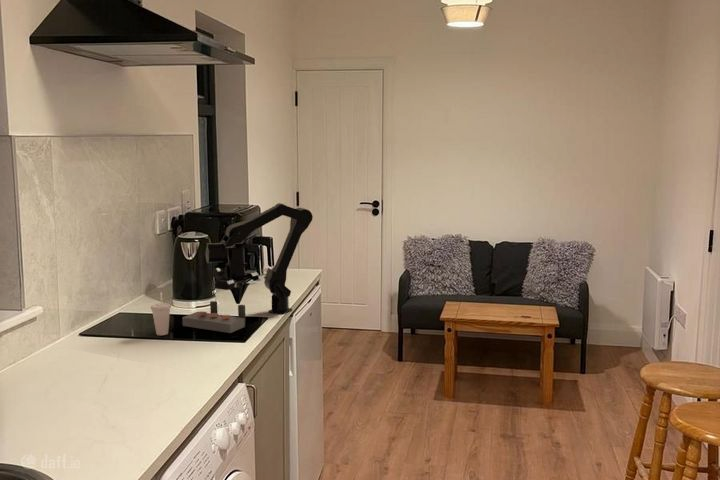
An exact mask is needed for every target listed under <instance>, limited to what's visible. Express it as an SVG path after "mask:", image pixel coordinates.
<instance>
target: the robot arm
mask: <svg viewBox="0 0 720 480" xmlns="http://www.w3.org/2000/svg"><path fill="white" fill-rule="evenodd" d="M282 216H284V217H287V218H290V221H289V222H290V223H289V224H290V225H289V232H288V233H287V236H286V239H285V241H284V243H283V246H282V248H281V251H280V252H279V255H278V258H277V261H276V263H275V265H274V266H273V267H272V268H269V267H267V270H266V274H265V276H263V279H264V280H263V281H264V282H263V284H264V286H265V288H266V289H267V290H268V291H269V292H270V294H272V295H271V309H269V310H268V313H275V314H282V315H283V314H287V313H289V312H291V311H293V308H291V307H290V306H289V304H290V302H289V298H290V296H291V292H292V291H291V290H290V289H289V288H288V287H287V286H286V282H287V270H288V268H289V267H290V264H291V263H290V262H291V261H292V258H293V256H294V254H295V251H296V249H297V246H298V245H299V241H300V239H301V236H302V235H303V233H305V231H306V230H307V229H308V228H309V226H310V224H311V223H312V222H313V217H314V216H313V214H312V212H311V211H310V210H309V209H306V208H303V207H296V208H294V207H291V206H288V205H286V204H285V203H281V202H279V203H276V204H274V206H272V207H270V208H268V209H266V210H264V211H262V212H260V213H258V214H257V215H255V216H253V217H251V218H249V219H246V220H244V221H239V222H236V223H232V224H230V225H228V226H227V227H226V230H225V234H224V236H223V237H222V239H221V240H220V242H217V243H215V242H214V243H209V242H208V243H206V247H205V253H204V254H205V260H206V263H207V264H214V263H224V262H225V261H226V260H227V263H225V265H224V268H219V267H216V268H213V269H212V277H213V278H214V279H216V280H215V281H214V284H213V285H214V289H217V290H225V291H228V290H230V292H231V295H232V297H233V299H234V302H235V304H236V305H241V303H242V300H243V297H244V294H245V293H246V290H247V288H249V286H250V283H249V282H247V280H249V279H250V280H252V281H253V282H255V281H259V279H260V277H259V275H260V274H259V273H258V272H257V271H250V270H246V267H247V266H248V262H245V249H248V248H250V247H251V246H250V245H249V244H248V243H247V242H246V239H247V238H248V237H249V236H250V235H251V234H252V233H253V232H254V231H256V230H258V229H260V228H261V227H263V226H265V225H267V224H269V223H270V222H272V221H275V220H276V219H278V218H280V217H282Z"/></svg>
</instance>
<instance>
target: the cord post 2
mask: <svg viewBox="0 0 720 480" xmlns="http://www.w3.org/2000/svg"><path fill="white" fill-rule="evenodd" d="M237 305H238V306H237V311H238V313H237V315H238V317H239V318H245V324H246V321H247V319H246V305H245V304H237Z"/></svg>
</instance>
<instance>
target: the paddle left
mask: <svg viewBox="0 0 720 480" xmlns="http://www.w3.org/2000/svg"><path fill="white" fill-rule="evenodd" d="M196 312H197V315H201V316H202V315H207V313H208V312H207V311H203V310H202V311H196Z"/></svg>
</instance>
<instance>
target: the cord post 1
mask: <svg viewBox="0 0 720 480" xmlns="http://www.w3.org/2000/svg"><path fill="white" fill-rule="evenodd" d="M209 306H210V309H209V311H210V313H217V314H218V315H219V313H218V302H217V300H214V301H213V300H212V301H210V302H209Z"/></svg>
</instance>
